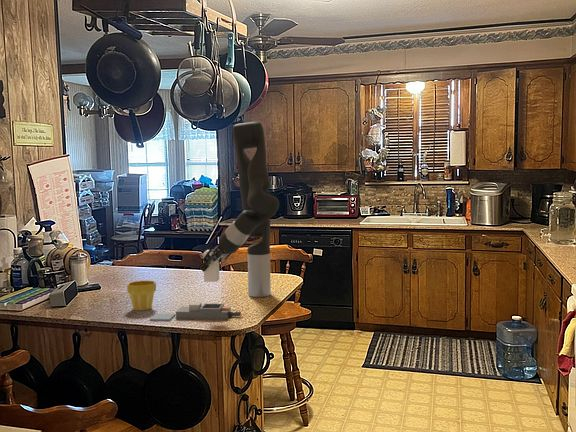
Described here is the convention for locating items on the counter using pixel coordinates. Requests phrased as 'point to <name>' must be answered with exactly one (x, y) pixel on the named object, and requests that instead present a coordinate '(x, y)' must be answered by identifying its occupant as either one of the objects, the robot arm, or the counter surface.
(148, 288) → the plant pot
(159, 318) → the pad
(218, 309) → the power strip
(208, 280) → the block
